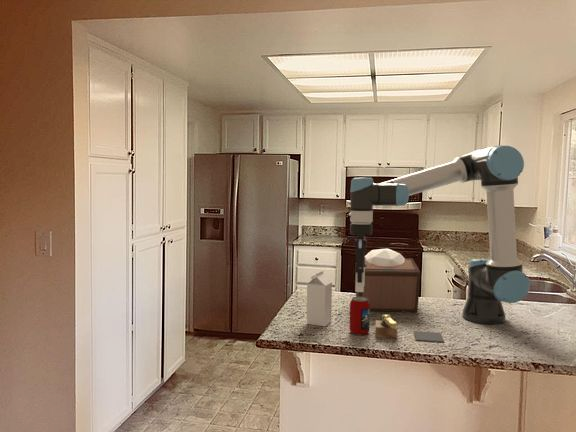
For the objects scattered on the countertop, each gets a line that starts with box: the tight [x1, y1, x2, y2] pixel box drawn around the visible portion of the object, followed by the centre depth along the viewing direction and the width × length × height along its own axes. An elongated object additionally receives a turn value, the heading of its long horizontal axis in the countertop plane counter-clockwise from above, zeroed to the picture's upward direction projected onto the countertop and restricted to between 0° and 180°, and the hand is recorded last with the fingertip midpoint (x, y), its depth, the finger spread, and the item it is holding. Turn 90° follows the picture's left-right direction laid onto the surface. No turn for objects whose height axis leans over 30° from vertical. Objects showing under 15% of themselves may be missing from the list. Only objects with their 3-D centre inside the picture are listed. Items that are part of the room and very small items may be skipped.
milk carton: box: [306, 270, 333, 327], centre depth 171 cm, size 7×7×19 cm
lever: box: [381, 313, 397, 328], centre depth 155 cm, size 9×3×2 cm, turn 5°
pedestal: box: [374, 319, 398, 340], centre depth 159 cm, size 7×8×4 cm
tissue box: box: [355, 248, 421, 313], centre depth 198 cm, size 24×28×24 cm
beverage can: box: [349, 296, 371, 336], centre depth 160 cm, size 7×7×12 cm
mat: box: [413, 330, 445, 344], centre depth 156 cm, size 9×9×1 cm
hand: (360, 288), depth 160 cm, fingers open, 9 cm apart
